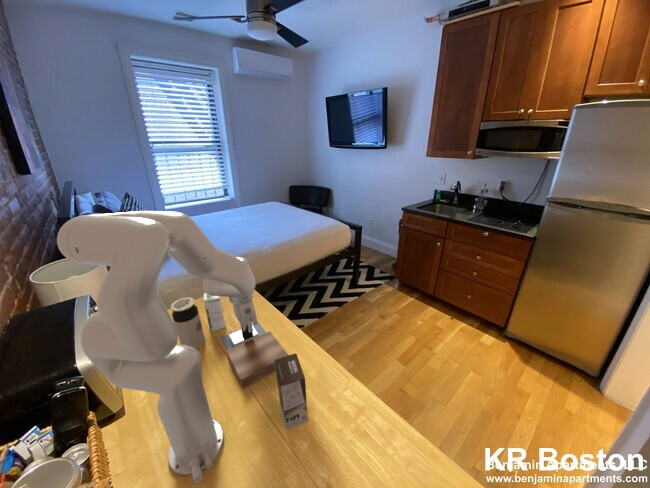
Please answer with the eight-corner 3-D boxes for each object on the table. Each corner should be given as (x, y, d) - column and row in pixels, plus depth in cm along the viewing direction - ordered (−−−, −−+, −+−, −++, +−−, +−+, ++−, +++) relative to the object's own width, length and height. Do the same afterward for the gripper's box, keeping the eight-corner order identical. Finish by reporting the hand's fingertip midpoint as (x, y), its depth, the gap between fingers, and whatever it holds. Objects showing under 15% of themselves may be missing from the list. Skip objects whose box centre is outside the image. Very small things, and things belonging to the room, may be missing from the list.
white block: (252, 324, 106) (252, 329, 106) (229, 334, 101) (229, 339, 102) (258, 333, 101) (258, 338, 102) (234, 344, 96) (235, 349, 97)
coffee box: (308, 421, 73) (306, 379, 67) (285, 430, 71) (280, 387, 65) (299, 392, 81) (296, 352, 75) (278, 400, 79) (273, 359, 73)
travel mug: (176, 350, 98) (164, 309, 90) (191, 334, 105) (181, 295, 97) (196, 353, 96) (184, 312, 88) (209, 338, 103) (200, 298, 96)
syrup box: (209, 323, 110) (202, 293, 105) (224, 319, 113) (218, 289, 107) (210, 332, 106) (202, 301, 100) (226, 327, 108) (219, 297, 102)
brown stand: (289, 363, 91) (288, 354, 90) (242, 388, 83) (241, 379, 81) (271, 339, 102) (270, 331, 100) (228, 359, 93) (226, 350, 92)
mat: (270, 339, 102) (270, 338, 102) (230, 357, 94) (230, 357, 94) (258, 321, 111) (257, 321, 111) (220, 337, 103) (220, 337, 103)
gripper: (260, 300, 85) (266, 345, 93) (243, 280, 96) (250, 321, 104) (237, 309, 81) (245, 355, 89) (222, 287, 92) (230, 330, 100)
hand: (248, 337), depth 96 cm, fingers closed
